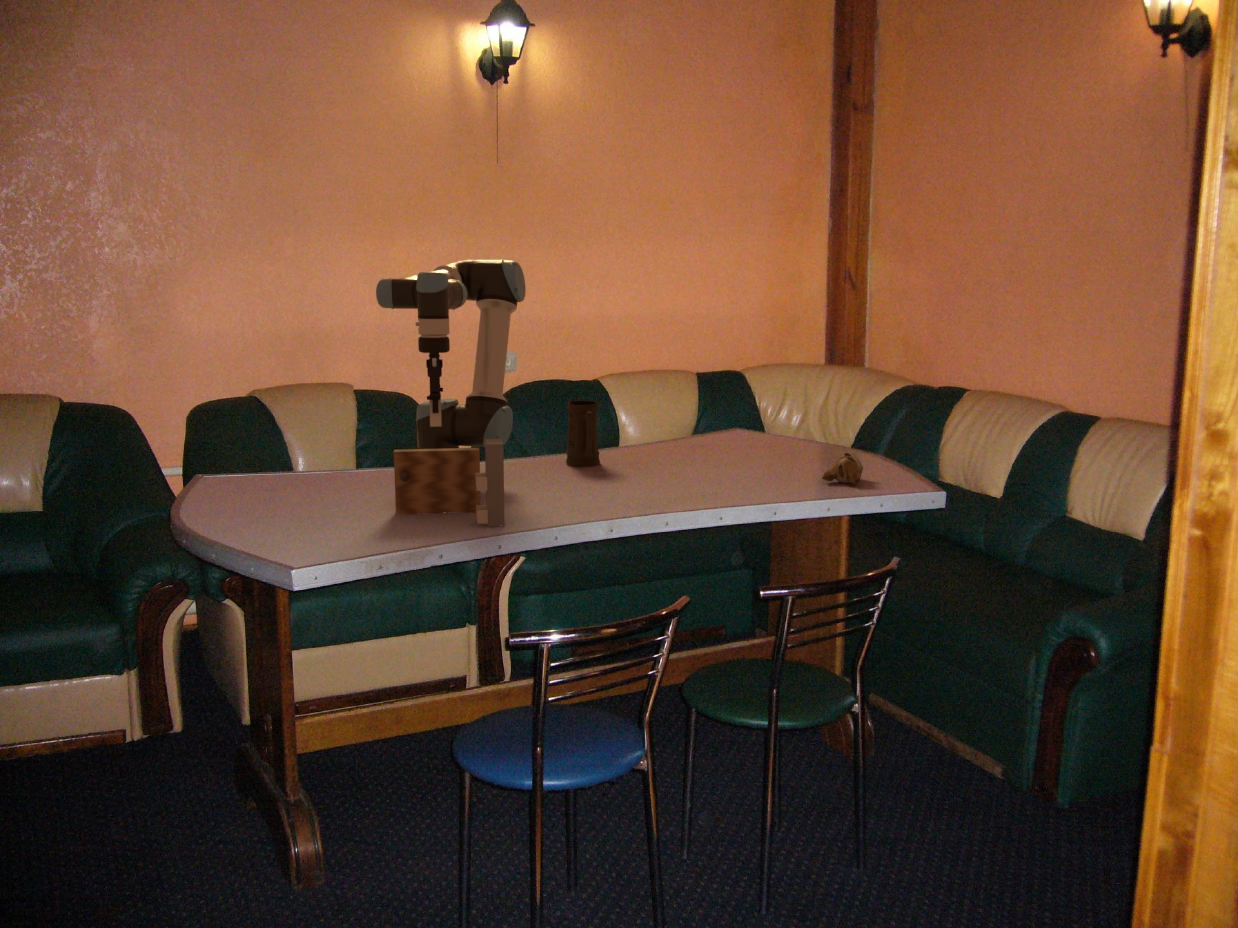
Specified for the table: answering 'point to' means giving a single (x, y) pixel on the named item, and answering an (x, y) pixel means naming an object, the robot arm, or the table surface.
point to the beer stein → (582, 434)
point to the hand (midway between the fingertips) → (435, 422)
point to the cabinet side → (492, 485)
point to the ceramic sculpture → (845, 469)
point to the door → (436, 480)
